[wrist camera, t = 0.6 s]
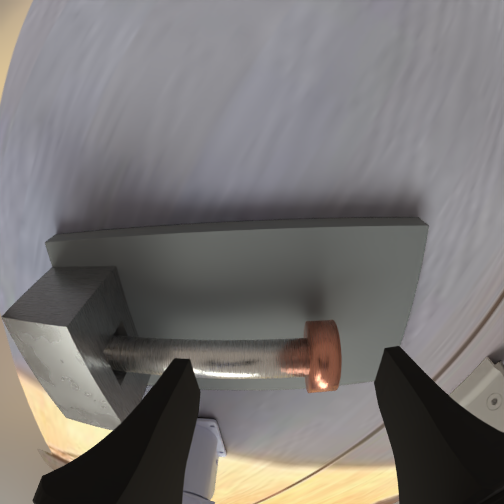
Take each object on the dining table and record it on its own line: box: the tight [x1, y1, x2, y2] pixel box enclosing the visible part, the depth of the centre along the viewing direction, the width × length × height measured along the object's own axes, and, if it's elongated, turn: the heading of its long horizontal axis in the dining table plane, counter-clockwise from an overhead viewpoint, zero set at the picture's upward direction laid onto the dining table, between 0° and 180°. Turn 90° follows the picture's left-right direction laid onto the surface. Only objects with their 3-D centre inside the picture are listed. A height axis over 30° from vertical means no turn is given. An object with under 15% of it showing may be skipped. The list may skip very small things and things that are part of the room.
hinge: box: [449, 357, 504, 432], centre depth 24 cm, size 17×5×10 cm, turn 155°
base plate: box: [45, 217, 429, 390], centre depth 20 cm, size 14×26×2 cm, turn 94°
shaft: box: [103, 320, 342, 393], centre depth 17 cm, size 4×15×4 cm, turn 93°
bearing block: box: [2, 266, 151, 430], centre depth 17 cm, size 10×6×6 cm, turn 4°
